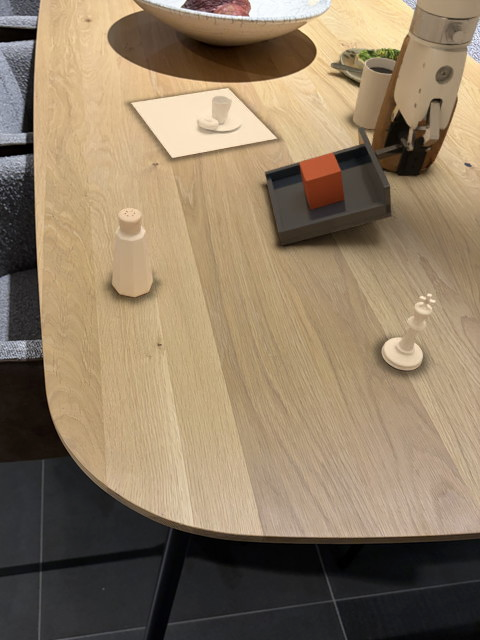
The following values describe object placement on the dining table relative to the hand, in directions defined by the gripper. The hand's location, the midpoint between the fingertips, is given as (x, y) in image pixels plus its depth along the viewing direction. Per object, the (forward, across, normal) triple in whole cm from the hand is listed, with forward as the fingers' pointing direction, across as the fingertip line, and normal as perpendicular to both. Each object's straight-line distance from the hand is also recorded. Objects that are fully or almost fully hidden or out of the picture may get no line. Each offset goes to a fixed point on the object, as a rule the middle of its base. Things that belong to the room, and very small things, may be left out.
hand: (401, 160), depth 86 cm
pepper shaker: (+9, -16, +38) cm, 42 cm away
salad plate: (+9, +49, -12) cm, 52 cm away
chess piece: (+10, -29, +5) cm, 31 cm away
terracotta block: (+6, 0, +10) cm, 12 cm away
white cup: (+9, +29, -4) cm, 31 cm away
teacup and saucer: (+8, +28, +27) cm, 39 cm away
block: (+9, +15, -6) cm, 19 cm away
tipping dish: (+6, 0, +7) cm, 9 cm away
